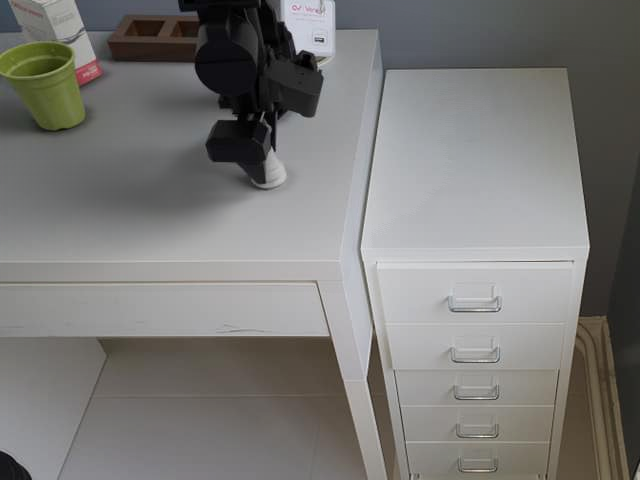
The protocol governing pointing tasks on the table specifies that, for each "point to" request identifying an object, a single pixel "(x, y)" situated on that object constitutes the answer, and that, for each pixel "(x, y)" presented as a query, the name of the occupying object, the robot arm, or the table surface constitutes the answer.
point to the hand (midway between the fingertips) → (266, 167)
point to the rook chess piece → (272, 169)
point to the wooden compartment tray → (155, 38)
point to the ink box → (58, 31)
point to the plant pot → (45, 82)
